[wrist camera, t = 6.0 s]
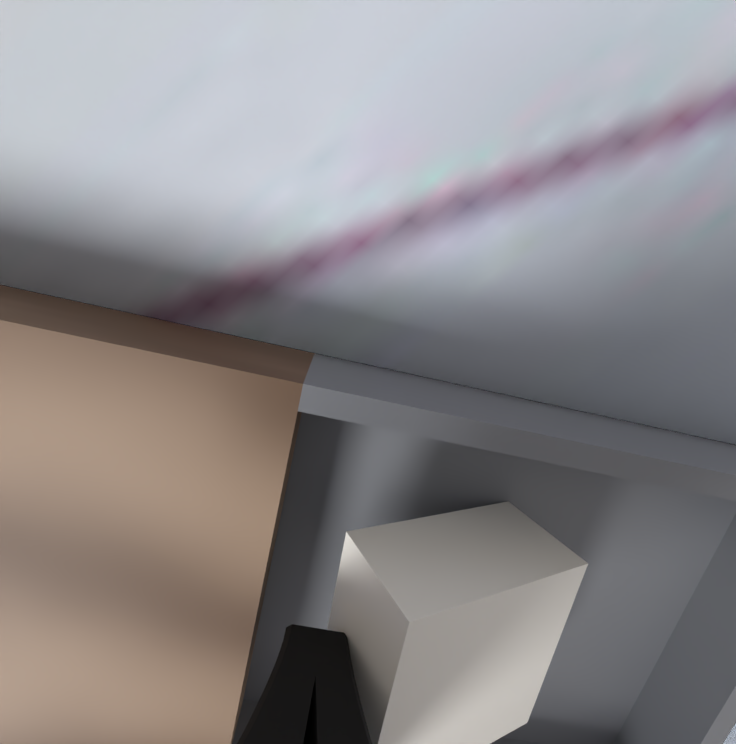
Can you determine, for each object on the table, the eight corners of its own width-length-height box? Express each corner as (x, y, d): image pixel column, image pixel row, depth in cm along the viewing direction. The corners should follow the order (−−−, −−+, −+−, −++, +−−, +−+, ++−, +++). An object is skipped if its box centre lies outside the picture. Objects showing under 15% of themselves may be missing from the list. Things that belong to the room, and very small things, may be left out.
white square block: (464, 642, 14) (527, 723, 12) (312, 701, 11) (358, 817, 9) (508, 501, 12) (588, 563, 10) (346, 531, 10) (409, 622, 8)
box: (611, 754, 16) (657, 848, 13) (243, 700, 15) (220, 791, 12) (772, 453, 12) (872, 503, 10) (314, 353, 11) (302, 384, 9)
